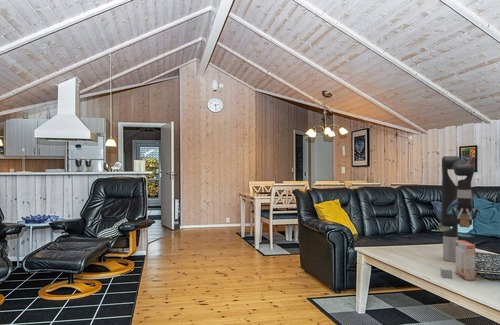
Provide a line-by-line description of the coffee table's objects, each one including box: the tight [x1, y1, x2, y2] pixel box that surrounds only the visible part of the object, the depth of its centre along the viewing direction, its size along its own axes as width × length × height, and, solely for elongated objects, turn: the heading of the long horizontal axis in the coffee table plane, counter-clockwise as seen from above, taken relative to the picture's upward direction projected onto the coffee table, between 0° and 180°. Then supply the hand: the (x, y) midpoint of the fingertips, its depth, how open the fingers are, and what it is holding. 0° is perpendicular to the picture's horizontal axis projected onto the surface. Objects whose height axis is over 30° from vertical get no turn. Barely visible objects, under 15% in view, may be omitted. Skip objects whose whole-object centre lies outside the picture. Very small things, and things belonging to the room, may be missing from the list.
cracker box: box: [455, 239, 476, 281], centre depth 215 cm, size 14×6×21 cm, turn 170°
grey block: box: [440, 267, 453, 280], centre depth 215 cm, size 5×5×5 cm
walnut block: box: [459, 214, 471, 229], centre depth 216 cm, size 5×5×7 cm
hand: (464, 225), depth 216 cm, fingers closed on walnut block, 5 cm apart
